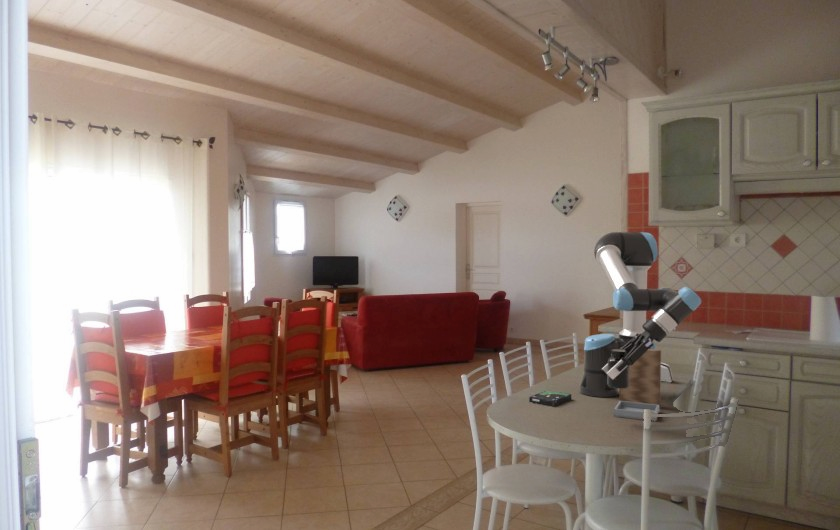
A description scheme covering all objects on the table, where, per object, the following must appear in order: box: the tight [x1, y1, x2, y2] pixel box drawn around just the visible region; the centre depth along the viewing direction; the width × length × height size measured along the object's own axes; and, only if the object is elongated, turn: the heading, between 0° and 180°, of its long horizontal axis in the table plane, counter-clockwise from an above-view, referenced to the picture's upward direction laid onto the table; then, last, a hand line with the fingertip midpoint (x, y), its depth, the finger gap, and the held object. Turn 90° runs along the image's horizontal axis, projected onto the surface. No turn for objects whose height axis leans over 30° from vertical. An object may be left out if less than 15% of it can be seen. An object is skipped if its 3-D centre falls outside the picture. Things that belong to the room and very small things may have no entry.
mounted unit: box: [618, 347, 662, 410], centre depth 225 cm, size 14×6×21 cm, turn 64°
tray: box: [613, 401, 660, 422], centre depth 212 cm, size 14×14×2 cm
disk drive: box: [528, 390, 572, 408], centre depth 230 cm, size 10×3×15 cm
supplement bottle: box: [607, 349, 629, 389], centre depth 200 cm, size 7×7×12 cm
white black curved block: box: [661, 361, 675, 383], centre depth 271 cm, size 17×5×10 cm, turn 51°
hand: (607, 374), depth 201 cm, fingers closed on supplement bottle, 7 cm apart
